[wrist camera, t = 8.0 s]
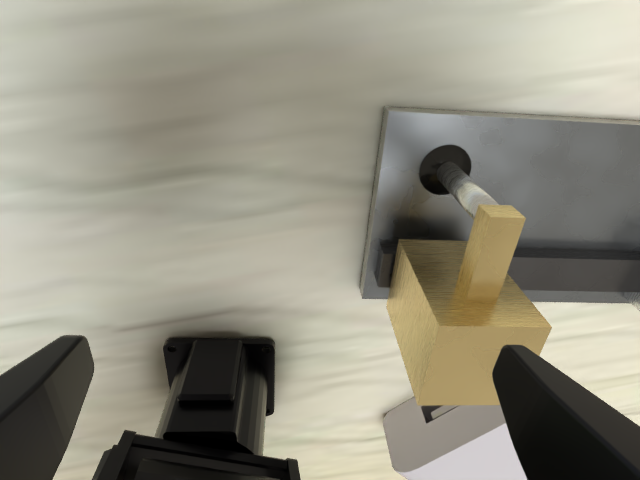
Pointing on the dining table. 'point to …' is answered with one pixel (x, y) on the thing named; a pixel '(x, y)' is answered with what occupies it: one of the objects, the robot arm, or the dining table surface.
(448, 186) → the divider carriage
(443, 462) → the charger
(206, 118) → the dining table surface
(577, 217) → the dividers base
